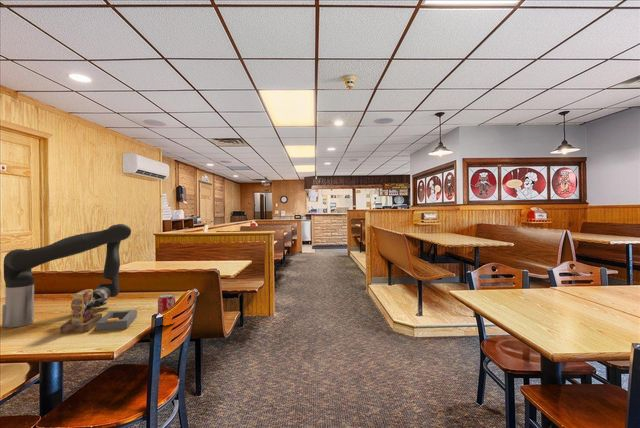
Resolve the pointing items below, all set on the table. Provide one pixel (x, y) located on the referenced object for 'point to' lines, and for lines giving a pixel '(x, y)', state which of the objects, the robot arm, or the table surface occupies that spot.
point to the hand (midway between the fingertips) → (81, 308)
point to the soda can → (165, 302)
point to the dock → (116, 320)
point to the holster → (80, 325)
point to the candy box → (81, 306)
